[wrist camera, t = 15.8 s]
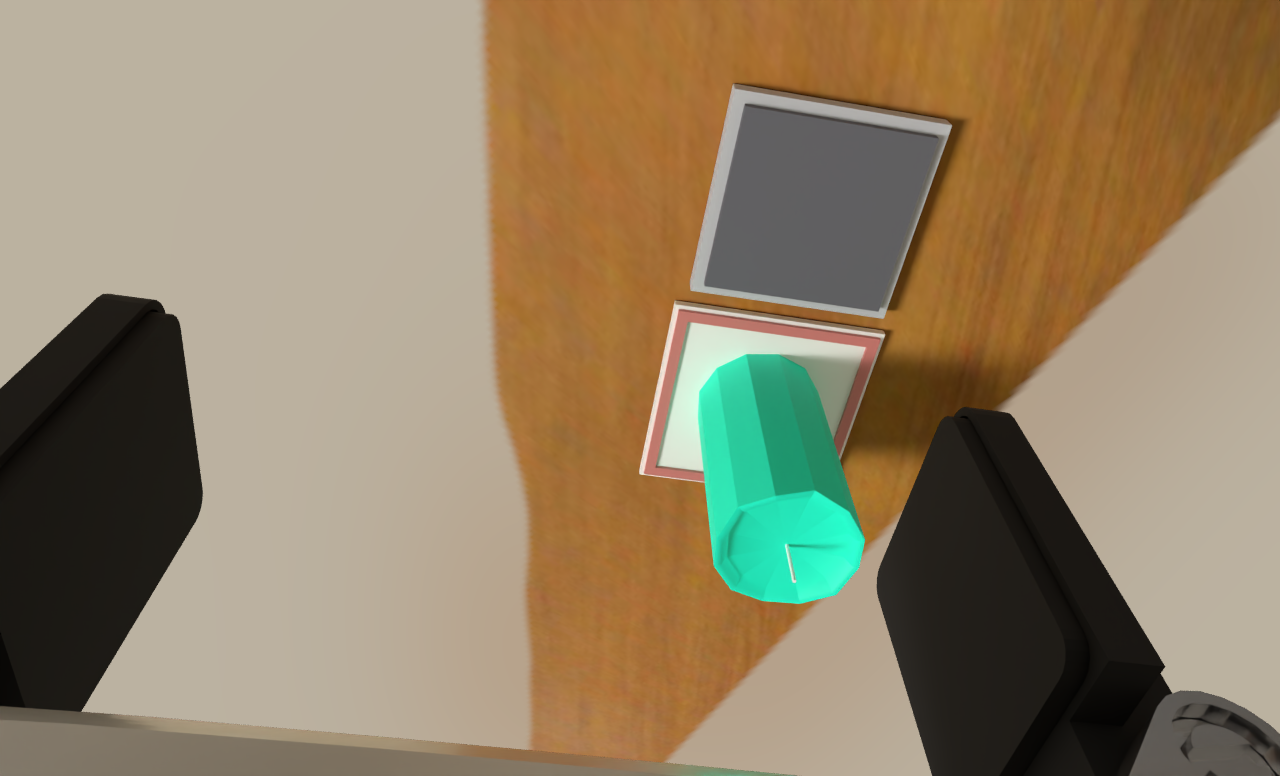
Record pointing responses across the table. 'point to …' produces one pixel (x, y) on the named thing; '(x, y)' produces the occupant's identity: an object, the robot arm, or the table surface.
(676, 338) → the marked card
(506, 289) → the table surface
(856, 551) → the candle
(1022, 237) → the table surface
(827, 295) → the ink pad
